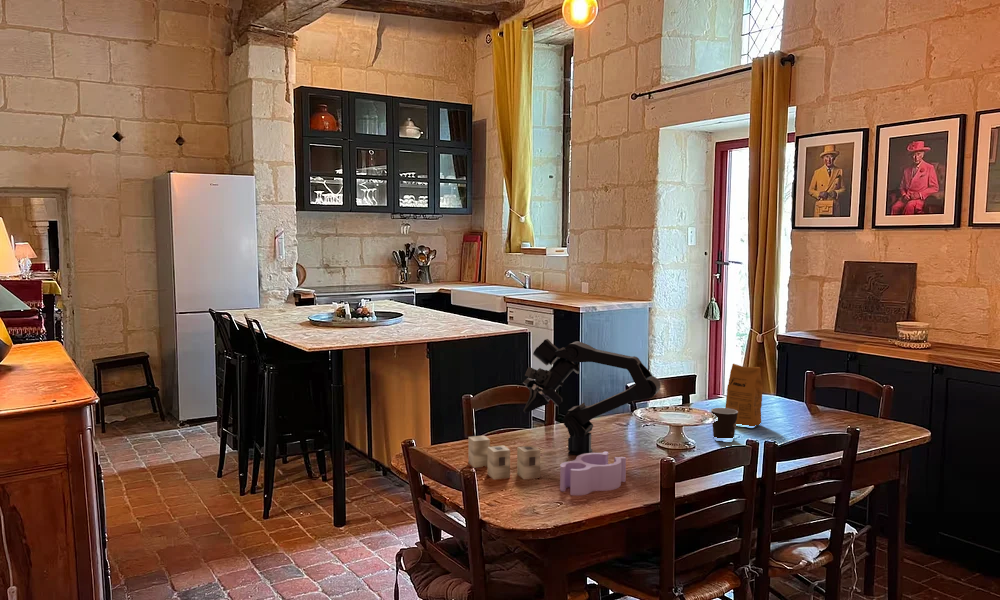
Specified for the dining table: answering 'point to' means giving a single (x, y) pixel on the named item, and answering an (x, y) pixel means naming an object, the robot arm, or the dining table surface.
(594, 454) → the clip
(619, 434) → the dining table surface
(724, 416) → the coffee mug
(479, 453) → the plain block
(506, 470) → the marked block 1
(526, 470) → the marked block 2
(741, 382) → the coffee package
